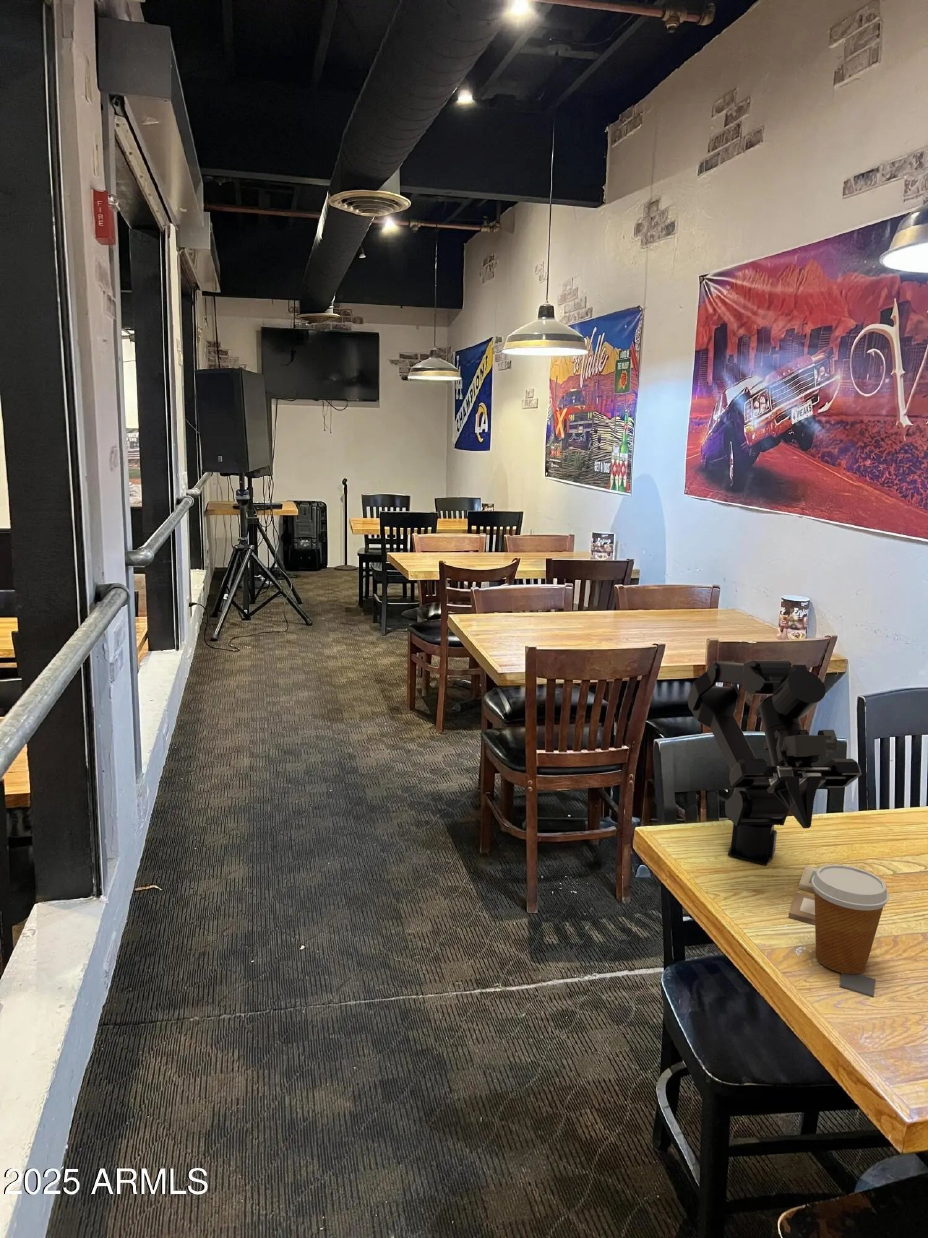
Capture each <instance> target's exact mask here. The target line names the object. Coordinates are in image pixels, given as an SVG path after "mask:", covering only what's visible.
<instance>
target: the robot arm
mask: <svg viewBox="0 0 928 1238" xmlns="http://www.w3.org/2000/svg"><path fill="white" fill-rule="evenodd" d="M718 683H721V684H723V683H725V684H731V686H715V685H716V684H718ZM738 685H739V686H743V687H742V688H743V690H744V691H745V692H747V693H749V694H751V695H753V696H755V695H757V696H758V695H759V696H760V695H763V696H766V695H767V696H766V697H765V698H764V699H762V700H760V701H759V704H758V706H757V708H756V709H755V716H756V717H760V719H761V723H762V728H763V730H764V731H763V732H764V736H765V740H766V741H765V742H764V743H763V748H764V750H765V751H768V754H769V757H770V761H771V766H770V765H769V766H768V764H767V761H765V759H764V758H757V757H756V755H755V753H754V751H753V749H752V748H751V746H750V744H749V741H748V739H747V738H746V735H745V734H744V732H743V730H742V729H741V726H740V725H739V722H738V721H737V719H736V717H735V714H736V713H735V712H736V709H737V707H738V703H739V701H740V699H741V692H740V690H739V687H738ZM825 695H826V686H825V683H824V682H823V680H821V677H819V676H818V675H816V674H815V673H814V672H811V671H809V670H808V668H807V665H806V664H794V663H793V665H792V662H790V660H788V659H751V660H747V661H745V662H743V663H742V662H736V661H734V660H731V661H730V660H725V661H724V660H720V661H718V660H715V661H712V662H710V663H709V664H708V667H707V670H706V671H704V673H703V674H701V675H700V676H699V677H698V678H696V679H695V680H694V681H693V683H692V686H691V688H690V691H689V693H688V697H687V705H688V709H689V710H690V711H691V713H692V715H693V716H694V718H695V719H696V721H697V722H698V723H700V724H702V725H703V726H705V727H706V728H709V729H710V731H711V733H712V735H713V738H714V740H715V741H716V743H717V745H718V747H719V750H720V751H721V754H722V756H723V758H724V761H725V763H726V764H727V766H728V768H729V770H730V771H729V773H728V774H729V775H728V779H729V782H730V783H729V784H730V787H731V788H733V789H734V791H733V793H732V795H731V796H730V797H729V798H728V799H727V800H726V801H725V804H724V809H725V810H724V811H725V816H726V817H727V818H728V819H729V820H730V821H731V822H732V833H731V842H730V848H729V850H728V852H727V855H728V857H733V858H736V859H739V860H745V861H749V862H751V863H756V864H760V865H763V866H767V865H768V863H769V862H770V860H771V859H773V858H774V854H775V852H776V847H777V844H776V843H777V837H778V836H777V835H778V831H777V830H775V826H784V825H785V822H786V820H787V818H788V814H789V812H790V813H791V815H792V816H793V817H794V818H795V820H796V821H797V823H799V825H800V826H801V827H802V828H803V829H809V828H811V827H812V821H813V813H814V812H813V811H814V804H815V803H814V802H815V798H816V794H817V790H818V788H819V787H821V786H824V788H828V789H829V788H830V789H831V788H832V789H833V788H836V789H837V788H841V789H842V788H846V787H848V786H849V785H850V784H852V783H853V782H854V781H855V780H857V779H858V778H859V777H860V776H862V775H863V774H862V769H861V767H860V764H859V763H858V762H857V761H856V760H855V759H854V758H830V759H829V760H828V761H827V762H825V763H824V765H813V763H815V764H816V763H817V762H818V761H819V760H820V759H819V757H820V758H821V757H824V758H827V757H829V756H828V755H829V754H828V752H833V751H834V752H836V751H837V750H838V748H839V744H838V743H839V742H838V738H837V734H836V732H835V730H834V729H820V730H818V731H817V734H813V735H812V734H810V733H809V730H808V729H803V725H802V722H801V719H802V718H804V717H805V716H807V715H808V713H809V712H810V711H812V709H814V708H815V707H816V705H818V704H819V703H820V702H821V701H822V700H823V699H824V697H825Z"/></svg>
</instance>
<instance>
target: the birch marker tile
mask: <svg viewBox="0 0 928 1238" xmlns="http://www.w3.org/2000/svg"><path fill="white" fill-rule="evenodd" d="M817 870H818V868H816V867H812V866H809V865H805V867H804V870H803V872H802V875H801V878H800V881H799V883H798V889H799V890H803V891H808V892H811V893H815V890H814V888H813V885H812V877H813V876H814V875H815V874H816V871H817Z"/></svg>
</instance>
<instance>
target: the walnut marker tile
mask: <svg viewBox="0 0 928 1238" xmlns="http://www.w3.org/2000/svg"><path fill="white" fill-rule="evenodd" d="M787 917H788V918H789V919H792V920H796V921H800V922H803V923H806V924H809V925H813V926H815V896H812V895H808V894H805V893H801V892H798V891H796V892H795V895H794V898H793V900H792V903H791V905H790V908H789V911H788V916H787Z"/></svg>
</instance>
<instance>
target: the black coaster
mask: <svg viewBox="0 0 928 1238" xmlns="http://www.w3.org/2000/svg"><path fill="white" fill-rule="evenodd" d="M876 981H877V979H876V978H872V977H869V976H866V975H863V974H861V973H858V974H846V973H841V978H840V982H839V988H843V989H845V990H849V991H852V992H855V993H859V994H861V995H864V996H868V997H872V998H874V996H875V988H876Z"/></svg>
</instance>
